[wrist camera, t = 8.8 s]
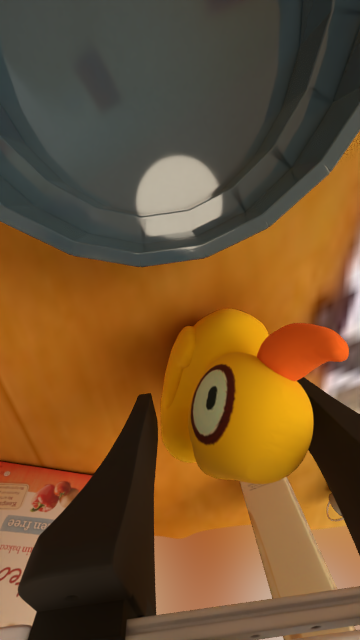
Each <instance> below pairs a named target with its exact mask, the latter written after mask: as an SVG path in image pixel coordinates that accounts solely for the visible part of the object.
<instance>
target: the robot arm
mask: <svg viewBox="0 0 360 640" xmlns="http://www.w3.org/2000/svg"><path fill="white" fill-rule="evenodd" d="M297 382H298V383H299V384H300V385H301V386H302V388H303V389H304V390H305V392H306V394H307V396H308V398H309V400H310V403H311V406H312V410H313V421H314V425H313V435H312V440H311V443H310V446H309V449H308V450H309V451H310V453H311V455H312V456H313V458H314V460H315V461H316V463H317V465H318V467H319V468H320V470H321V472H322V474H323V476H324V478H325V480H326V482H327V484H328V486H329V488H330V490H331V492H332V494H333V497H334V499H335V501H336V503H337V505H338V507H339V509H340V512H341V514H342V516H343V518H344V520H345V523H346V525H347V527H348V529H349V532H350V534H351V536H352V538H353V541H354V543H355V545H356V548H357V550H358V553H359V555H360V414H358V413H357V412H355V411H353V410H352V409H350V408H349V407H347V406H345V405H344V404H342V403H341V402H339V401H337V400H336V399H334V398H333V397H331V396H330V395H328V394H327V393H326V392H324V391H323V390H321V389H320V388H318V387H317V386H315V385H314V384H313V383H311V382H310V381H308V380H307V379H306V378H304V377H303V378H301V379H299V380H297ZM157 444H158V425H157V417H156V412H155V408H154V404H153V400H152V396H151V393H148V394H141V395H139V396H138V397H137V400H136V402H135V405H134V407H133V409H132V411H131V414H130V416H129V418H128V420H127V422H126V424H125V426H124V428H123V429H122V431H121V433H120V435H119V437H118V438H117V440H116V442H115V443H114V445H113V447H112V448H111V450H110V452H109V453H108V455H107V456H106V458H105V459H104V461H103V462H102V464H101V465H100V466H99V468H98V469H97V470H96V472H95V473H94V474H93V476H92V477H91V479H90V480H89V481H88V482H87V484H86V485H85V486H84V487H83V489H82V490H81V491H80V492H79V493H78V494H77V496H76V497H75V498H74V499H73V500H72V501H71V503H70V504H69V505H68V506H67V507H66V508H65V509H64V511H63V512H62V513H61V514H60V515H59V516H58V517H57V518H56V519H55V520H54V521H53V522H52V523H51V524H50V525H49V526H48V527H47V528H46V529H45V530H44V531H43V532H42V533H41V534H40V535H39V537H38V539H37V541H36V543H35V545H34V547H33V549H32V552H31V554H30V557H29V559H28V562H27V564H26V567H25V570H24V572H23V575H22V578H21V580H20V583H19V586H18V594H19V596H20V597H21V598H22V600H24V601H25V602H26V603H27V604H28V605H29V606H31V607H32V608H33V609H34V610H35V611H37V612H36V615H35V618H34V621H33V625H32V626H31V625H25V624H23V625H13V626H6V627H0V640H258V639H265V638H272V637H279V636H286V635H293V634H300V633H307V632H314V631H321V630H328V629H335V628H342V627H349V626H356V625H360V586H359V587H351V588H344V589H337V590H330V591H323V592H316V593H309V594H302V595H295V596H288V597H281V598H274V599H267V600H261V601H253V602H246V603H239V604H232V605H225V606H218V607H211V608H204V609H197V610H190V611H183V612H176V613H169V614H162V615H156V597H155V564H154V563H155V562H154V481H155V469H156V457H157ZM291 640H360V630H353V631H346V632H339V633H332V634H325V635H318V636H311V637H304V638H297V639H291Z"/></svg>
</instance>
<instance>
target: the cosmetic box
mask: <svg viewBox="0 0 360 640" xmlns="http://www.w3.org/2000/svg"><path fill="white" fill-rule="evenodd" d="M240 485H241V488H242V492H243V495H244V499H245V502H246V506H247V509H248V513H249V516H250V520H251V524H252V527H253V530H254V534H255V538H256V542H257V545H258V549H259V552H260V556H261V559H262V563H263V566H264V570H265V574H266V577H267V581H268V584H269V588H270V591H271V595H272V599H274V598H281V597H288V596H295V595H302V594H309V593H316V592H323V591H330V590H337V587H336V585H335V583H334V581H333V578H332V576H331V574H330V572H329V569H328V567H327V565H326V563H325V561H324V558H323V556H322V554H321V552H320V550H319V547H318V545H317V543H316V541H315V538H314V536H313V534H312V532H311V529H310V527H309V525H308V523H307V521H306V518H305V516H304V514H303V512H302V509H301V507H300V505H299V503H298V500H297V498H296V496H295V494H294V491H293V489H292V487H291V485H290V483H289V481H288V479H287V477H285V478H283V479H281V480H279V481H276V482H273V483H269V484H253V483H247V482H241V481H240ZM353 630H355V627H354V626H349V627H342V628H335V629H328V630H321V631H314V632H307V633H300V634H293V635H286V636H283V638H284V640H291V639H297V638H304V637H311V636H318V635H325V634H332V633H339V632H346V631H353Z"/></svg>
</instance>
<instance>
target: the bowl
mask: <svg viewBox="0 0 360 640" xmlns="http://www.w3.org/2000/svg"><path fill="white" fill-rule="evenodd" d="M359 131H360V0H0V221H1V222H3V223H5V224H7V225H9V226H11V227H13V228H15V229H17V230H19V231H21V232H23V233H26V234H28V235H30V236H32V237H34V238H36V239H38V240H40V241H42V242H44V243H46V244H48V245H51V246H53V247H55V248H57V249H59V250H61V251H63V252H65V253H67V254H69V255H73V256H76V257H82V258H88V259H94V260H100V261H106V262H112V263H118V264H123V265H129V266H135V267H147V266H154V265H161V264H168V263H175V262H182V261H189V260H197V259H204V258H205V257H209V256H211V255H213V254H215V253H217V252H220V251H222V250H224V249H226V248H228V247H230V246H232V245H234V244H236V243H238V242H240V241H242V240H244V239H246V238H249V237H251V236H253V235H255V234H257V233H259V232H261V231H263V230H265V229H267V228H268V227H270V226H271V225H272V224H273V223H275V222H276V221H277V220H278V219H279V218H280V217H281V216H282V215H284V214H285V213H286V212H287V211H288V210H289V209H290V208H291V207H293V206H294V205H295V204H296V203H297V202H298V201H299V200H300V199H302V198H303V197H304V196H305V195H306V194H307V193H308V192H309V191H311V190H312V189H313V188H314V187H315V186H316V185H317V184H318V183H320V182H321V181H322V180H323V179H324V178H325V177H326V176H327V175H328V174H329V173H330V172H331V171H332V170H333V168H334V167H335V165H336V164H337V162H338V161H339V160H340V158H341V157H342V155H343V154H344V152H345V151H346V149H347V148H348V147H349V145H350V144H351V142H352V141H353V139H354V138H355V137H356V135H357V134H358V132H359Z"/></svg>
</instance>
